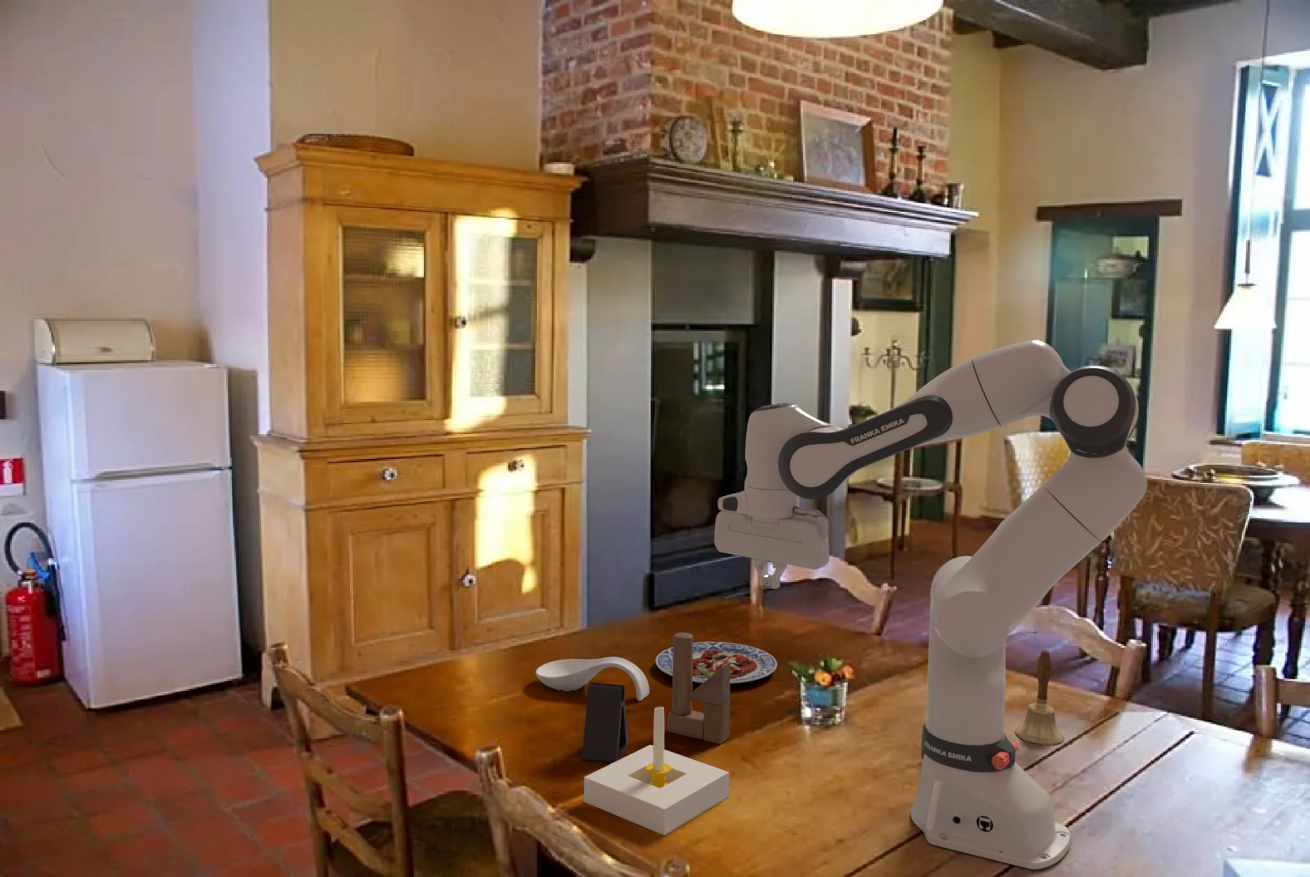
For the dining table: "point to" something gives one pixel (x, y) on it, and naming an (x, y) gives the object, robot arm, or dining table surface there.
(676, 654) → the wooden block
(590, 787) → the hole board
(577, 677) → the spoon rest
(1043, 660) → the hand bell
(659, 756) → the candle
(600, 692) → the phone stand
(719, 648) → the ceramic plate
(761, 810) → the dining table surface
